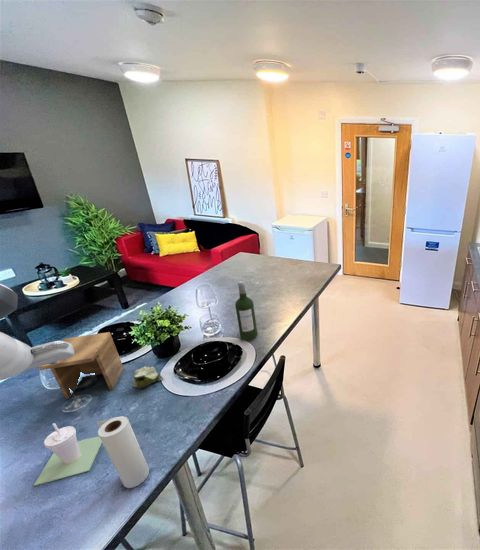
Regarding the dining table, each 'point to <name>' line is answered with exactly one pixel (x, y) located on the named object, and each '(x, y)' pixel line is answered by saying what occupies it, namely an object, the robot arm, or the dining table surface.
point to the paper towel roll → (123, 450)
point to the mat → (83, 464)
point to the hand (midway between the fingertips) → (30, 368)
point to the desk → (87, 362)
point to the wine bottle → (245, 314)
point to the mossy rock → (145, 377)
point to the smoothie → (63, 444)
